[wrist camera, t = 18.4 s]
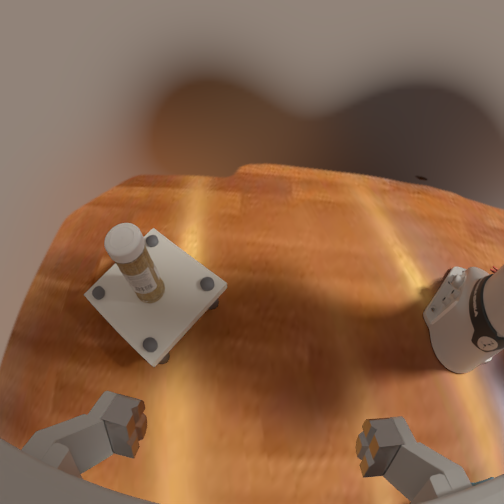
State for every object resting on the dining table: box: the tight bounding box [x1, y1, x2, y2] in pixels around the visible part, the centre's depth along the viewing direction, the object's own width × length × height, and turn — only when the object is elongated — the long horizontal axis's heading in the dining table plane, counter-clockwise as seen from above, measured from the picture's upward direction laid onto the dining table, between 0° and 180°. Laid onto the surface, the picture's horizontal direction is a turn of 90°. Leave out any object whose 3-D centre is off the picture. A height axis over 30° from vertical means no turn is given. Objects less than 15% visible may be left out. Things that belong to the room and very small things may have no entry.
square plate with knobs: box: [84, 228, 227, 367], centre depth 46 cm, size 16×16×7 cm
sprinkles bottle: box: [104, 223, 165, 303], centre depth 38 cm, size 5×5×13 cm
